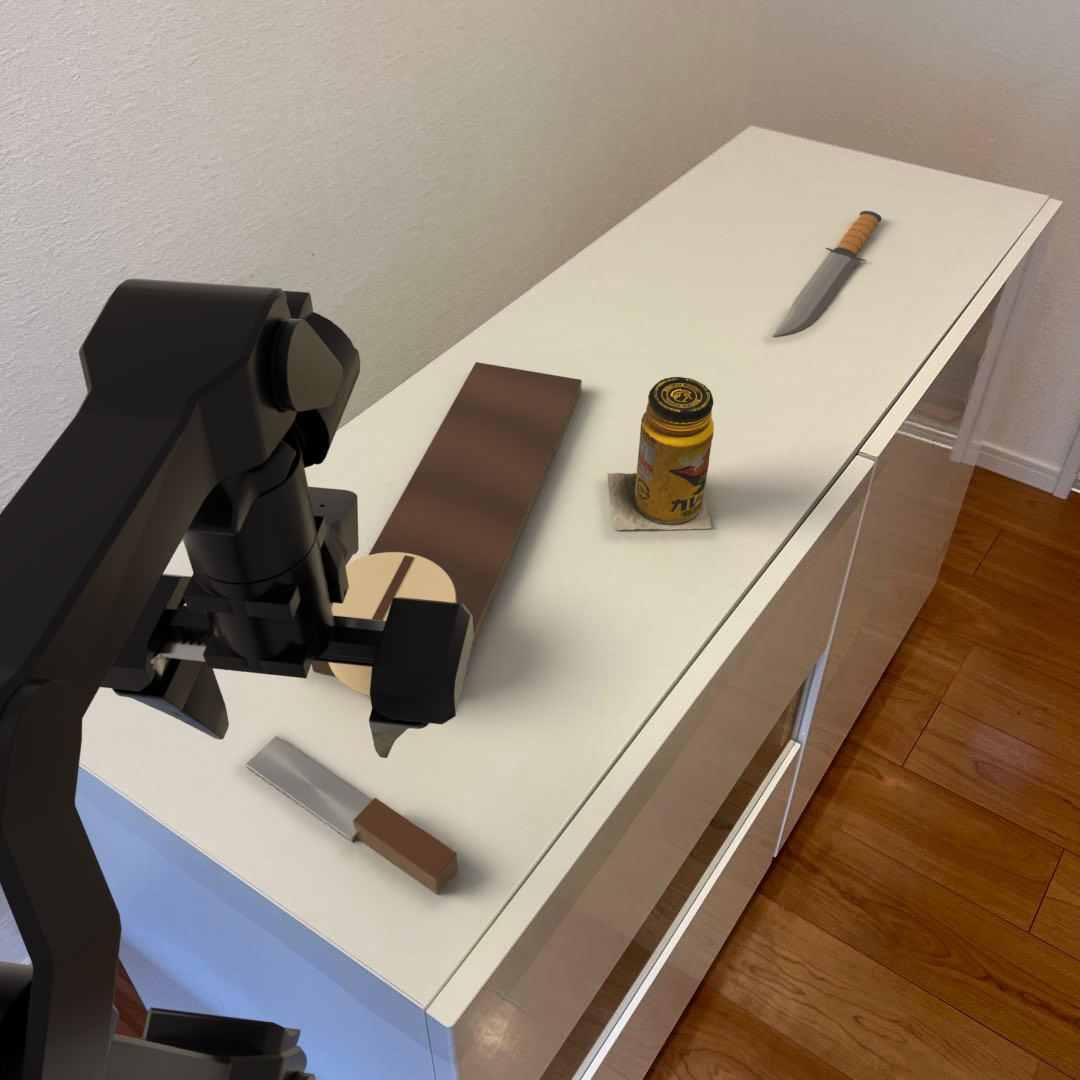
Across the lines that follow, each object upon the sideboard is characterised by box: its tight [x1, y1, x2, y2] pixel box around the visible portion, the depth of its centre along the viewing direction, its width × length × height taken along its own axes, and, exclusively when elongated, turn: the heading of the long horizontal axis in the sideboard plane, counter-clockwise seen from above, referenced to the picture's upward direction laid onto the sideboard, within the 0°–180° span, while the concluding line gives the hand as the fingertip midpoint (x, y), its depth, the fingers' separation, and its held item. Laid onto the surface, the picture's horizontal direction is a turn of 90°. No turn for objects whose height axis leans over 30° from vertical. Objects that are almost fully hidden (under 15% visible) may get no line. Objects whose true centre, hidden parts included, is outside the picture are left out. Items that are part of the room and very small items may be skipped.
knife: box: [772, 210, 882, 337], centre depth 123 cm, size 30×1×5 cm
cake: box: [328, 552, 457, 697], centre depth 80 cm, size 10×10×5 cm
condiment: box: [606, 376, 715, 531], centre depth 91 cm, size 7×8×12 cm
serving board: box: [311, 361, 583, 678], centre depth 94 cm, size 40×11×2 cm, turn 164°
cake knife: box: [245, 735, 459, 895], centre depth 72 cm, size 17×3×2 cm, turn 54°
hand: (303, 741), depth 59 cm, fingers open, 9 cm apart
